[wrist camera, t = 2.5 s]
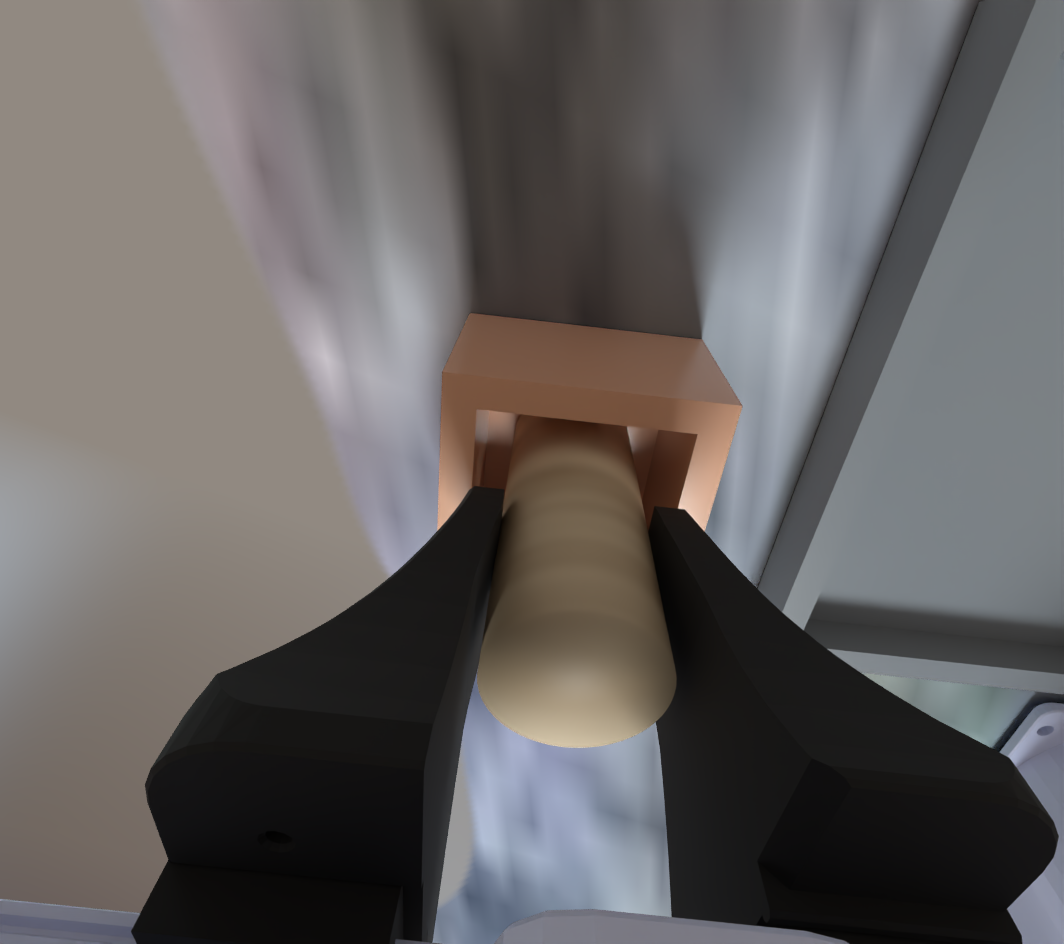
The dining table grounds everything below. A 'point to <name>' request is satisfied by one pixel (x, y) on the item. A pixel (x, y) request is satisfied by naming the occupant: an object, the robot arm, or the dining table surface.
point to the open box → (586, 405)
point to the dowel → (574, 593)
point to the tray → (952, 398)
